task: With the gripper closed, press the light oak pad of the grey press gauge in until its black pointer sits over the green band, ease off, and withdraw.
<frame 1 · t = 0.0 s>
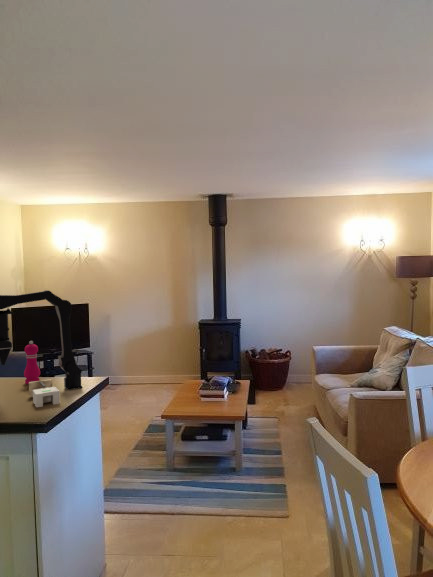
hand: (1, 363, 174), 15 cm above the table, fingers open, 9 cm apart
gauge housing: (44, 400, 170), on the table
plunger: (43, 391, 171), point 3 cm above the table, slide at 0.0 cm
pepper mill: (32, 383, 201), on the table
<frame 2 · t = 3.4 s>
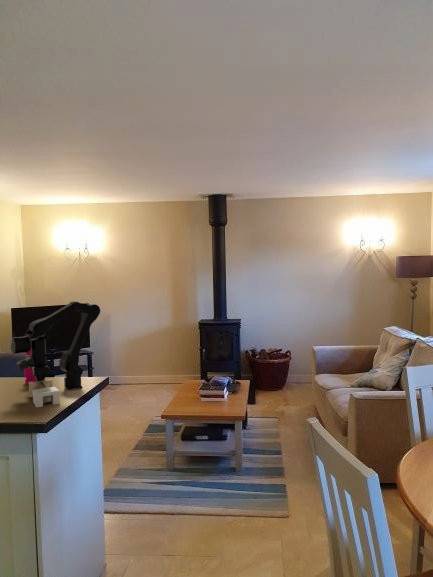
hand: (39, 387, 179), 3 cm above the table, fingers closed
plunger: (43, 391, 171), point 3 cm above the table, slide at 0.0 cm, touching gripper
everything else where it was.
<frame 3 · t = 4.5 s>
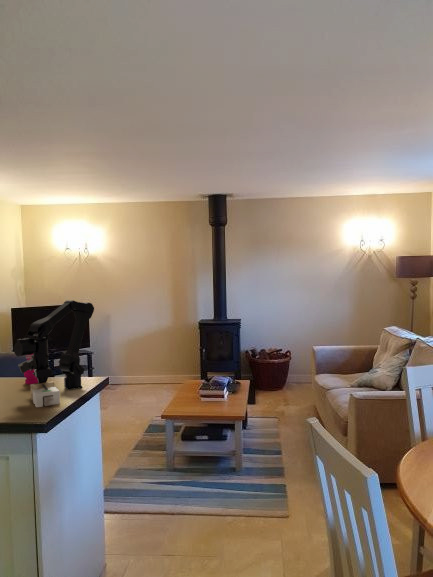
hand: (41, 389, 175), 3 cm above the table, fingers closed
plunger: (45, 394, 167), point 3 cm above the table, slide at 5.0 cm, touching gripper
everything else where it was.
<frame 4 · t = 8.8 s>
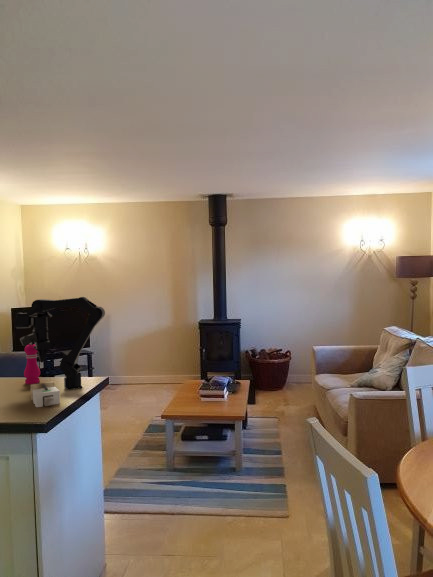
hand: (41, 362, 188), 12 cm above the table, fingers closed
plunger: (45, 394, 167), point 3 cm above the table, slide at 5.1 cm
everything else where it was.
at the end: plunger slide at 5.1 cm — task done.
